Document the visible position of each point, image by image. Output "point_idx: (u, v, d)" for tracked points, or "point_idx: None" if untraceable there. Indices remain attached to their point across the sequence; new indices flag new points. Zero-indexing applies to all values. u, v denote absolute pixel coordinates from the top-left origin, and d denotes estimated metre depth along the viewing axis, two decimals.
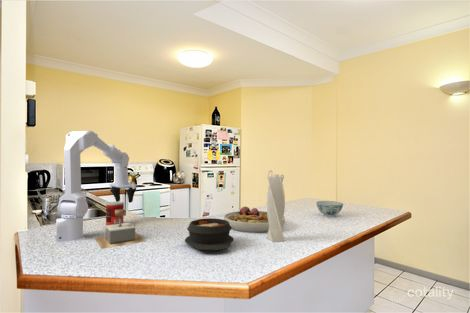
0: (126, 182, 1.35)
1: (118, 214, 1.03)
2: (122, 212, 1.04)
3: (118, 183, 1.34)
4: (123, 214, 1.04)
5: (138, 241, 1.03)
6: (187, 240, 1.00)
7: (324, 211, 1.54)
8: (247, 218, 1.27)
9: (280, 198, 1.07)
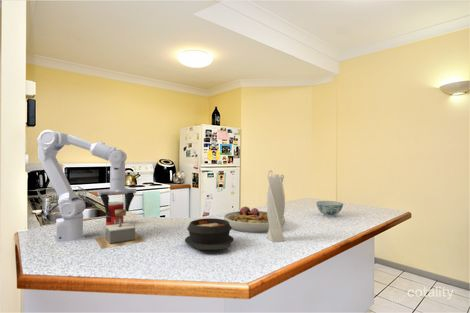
0: (110, 187, 1.09)
1: (118, 214, 1.03)
2: (122, 212, 1.04)
3: None
4: (123, 214, 1.04)
5: (138, 241, 1.03)
6: (187, 240, 1.00)
7: (324, 211, 1.54)
8: (247, 218, 1.27)
9: (280, 198, 1.07)
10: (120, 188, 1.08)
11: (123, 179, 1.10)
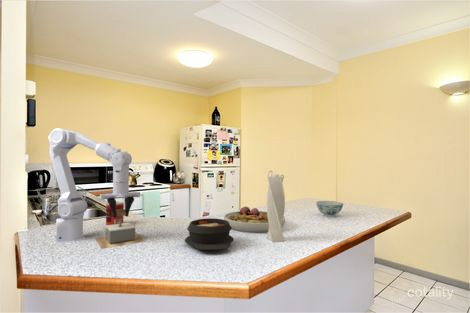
0: (113, 190, 1.04)
1: (118, 214, 1.03)
2: (122, 212, 1.04)
3: None
4: (123, 214, 1.04)
5: (138, 241, 1.03)
6: (187, 240, 1.00)
7: (324, 211, 1.54)
8: (247, 218, 1.27)
9: (280, 198, 1.07)
10: (123, 192, 1.04)
11: (127, 182, 1.05)
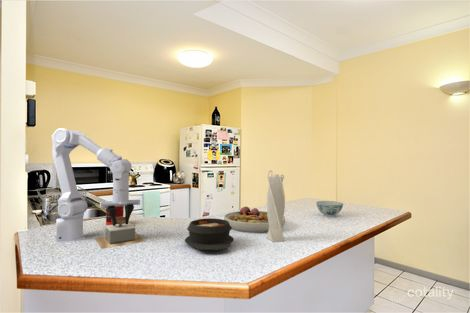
0: None
1: (118, 222, 1.03)
2: (122, 220, 1.04)
3: None
4: (123, 222, 1.04)
5: (138, 241, 1.03)
6: (187, 240, 1.00)
7: (324, 211, 1.54)
8: (247, 218, 1.27)
9: (280, 198, 1.07)
10: (123, 200, 1.04)
11: (126, 190, 1.05)
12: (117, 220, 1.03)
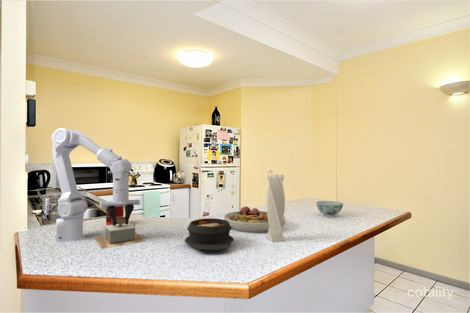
0: None
1: (118, 222, 1.03)
2: (122, 220, 1.04)
3: None
4: (123, 222, 1.04)
5: (138, 241, 1.03)
6: (187, 240, 1.00)
7: (324, 211, 1.54)
8: (247, 218, 1.27)
9: (280, 198, 1.07)
10: (123, 200, 1.03)
11: (126, 190, 1.05)
12: (117, 220, 1.03)
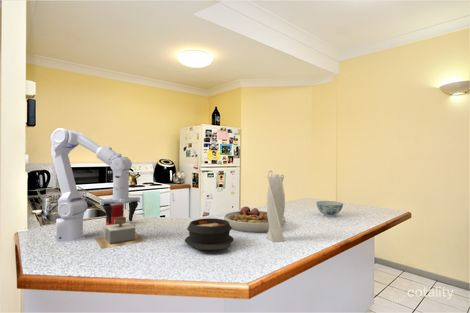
0: None
1: (118, 222, 1.03)
2: (122, 220, 1.04)
3: None
4: (123, 222, 1.04)
5: (138, 241, 1.03)
6: (187, 240, 1.00)
7: (324, 211, 1.54)
8: (247, 218, 1.27)
9: (280, 198, 1.07)
10: (123, 197, 1.04)
11: (126, 188, 1.05)
12: (117, 220, 1.03)
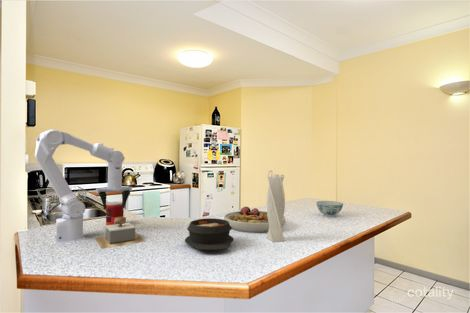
0: None
1: (118, 222, 1.03)
2: (122, 220, 1.04)
3: None
4: (123, 222, 1.04)
5: (138, 241, 1.03)
6: (187, 240, 1.00)
7: (324, 211, 1.54)
8: (247, 218, 1.27)
9: (280, 198, 1.07)
10: (117, 186, 1.17)
11: (120, 178, 1.18)
12: (117, 220, 1.03)
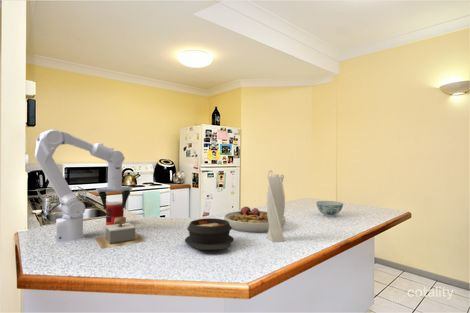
0: None
1: (118, 222, 1.03)
2: (122, 220, 1.04)
3: None
4: (123, 222, 1.04)
5: (138, 241, 1.03)
6: (187, 240, 1.00)
7: (324, 211, 1.54)
8: (247, 218, 1.27)
9: (280, 198, 1.07)
10: (117, 186, 1.17)
11: (120, 178, 1.18)
12: (117, 220, 1.03)
